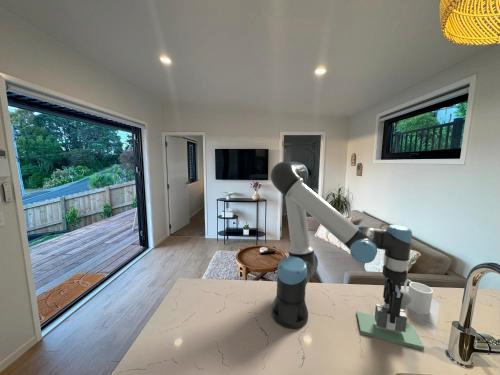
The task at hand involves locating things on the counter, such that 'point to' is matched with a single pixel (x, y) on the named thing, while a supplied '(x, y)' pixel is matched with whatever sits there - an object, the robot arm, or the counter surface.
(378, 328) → the board
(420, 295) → the cup
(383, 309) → the block
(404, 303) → the lightbulb
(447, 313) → the counter surface
